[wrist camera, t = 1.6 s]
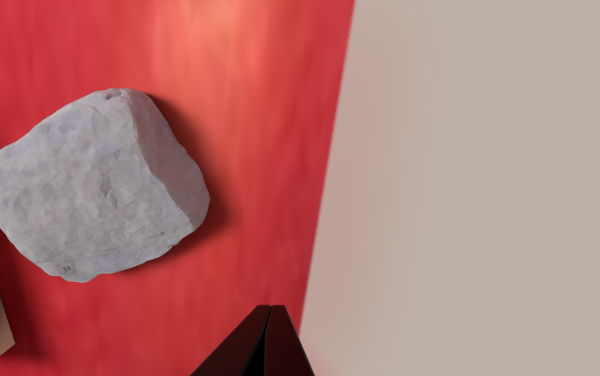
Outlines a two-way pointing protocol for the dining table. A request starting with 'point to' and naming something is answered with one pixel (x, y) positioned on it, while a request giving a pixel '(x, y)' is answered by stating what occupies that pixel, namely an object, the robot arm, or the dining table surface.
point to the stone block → (99, 187)
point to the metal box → (5, 332)
